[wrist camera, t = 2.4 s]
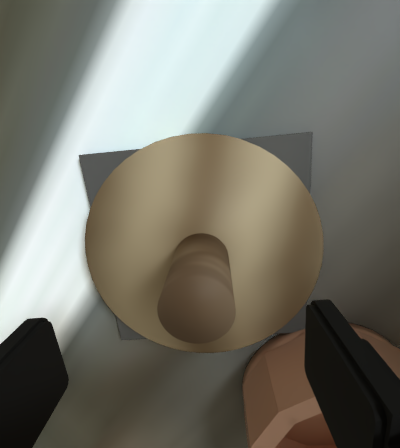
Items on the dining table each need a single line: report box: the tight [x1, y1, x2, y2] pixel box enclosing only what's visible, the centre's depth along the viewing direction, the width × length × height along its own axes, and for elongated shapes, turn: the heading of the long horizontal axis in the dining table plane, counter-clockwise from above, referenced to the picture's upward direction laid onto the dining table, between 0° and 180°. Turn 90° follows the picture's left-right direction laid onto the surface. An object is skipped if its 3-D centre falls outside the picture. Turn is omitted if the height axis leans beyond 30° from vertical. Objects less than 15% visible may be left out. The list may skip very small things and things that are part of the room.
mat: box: [79, 132, 312, 340], centre depth 16 cm, size 13×13×1 cm
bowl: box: [242, 323, 400, 448], centre depth 17 cm, size 12×12×5 cm
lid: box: [85, 133, 323, 353], centre depth 13 cm, size 14×14×6 cm
